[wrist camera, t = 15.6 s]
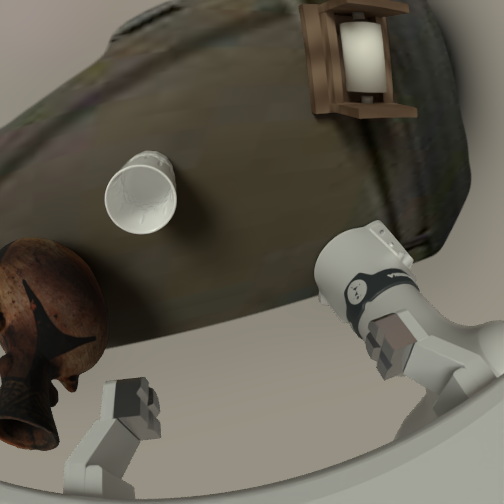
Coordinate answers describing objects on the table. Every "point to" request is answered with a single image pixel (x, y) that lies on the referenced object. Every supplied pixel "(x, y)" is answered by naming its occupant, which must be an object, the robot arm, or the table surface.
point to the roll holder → (332, 63)
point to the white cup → (142, 193)
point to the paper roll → (363, 57)
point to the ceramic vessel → (44, 335)
